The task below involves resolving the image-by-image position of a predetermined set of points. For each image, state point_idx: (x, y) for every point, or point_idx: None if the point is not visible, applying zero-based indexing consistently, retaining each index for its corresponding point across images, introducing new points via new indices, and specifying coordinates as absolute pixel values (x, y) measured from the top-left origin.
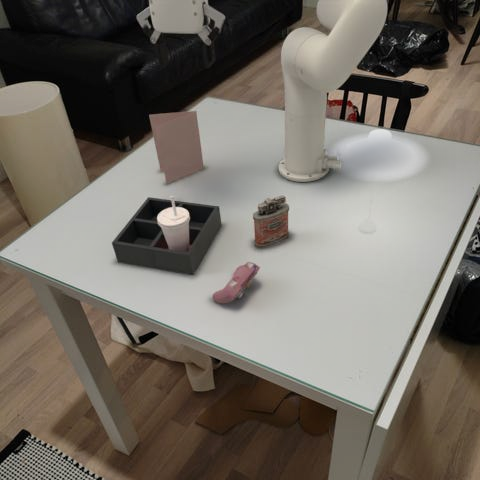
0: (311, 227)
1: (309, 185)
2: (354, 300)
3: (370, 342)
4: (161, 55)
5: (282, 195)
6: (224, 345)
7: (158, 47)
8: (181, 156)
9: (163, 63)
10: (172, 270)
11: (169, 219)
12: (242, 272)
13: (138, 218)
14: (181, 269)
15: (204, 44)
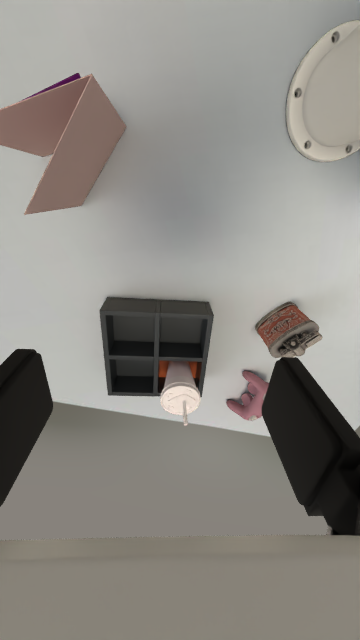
0: (325, 286)
1: (339, 169)
2: (348, 379)
3: (349, 411)
4: (32, 443)
5: (318, 337)
6: (242, 430)
7: (2, 494)
8: (89, 166)
9: (49, 403)
10: None
11: (178, 406)
12: (261, 412)
13: (109, 346)
14: None
15: (316, 504)
